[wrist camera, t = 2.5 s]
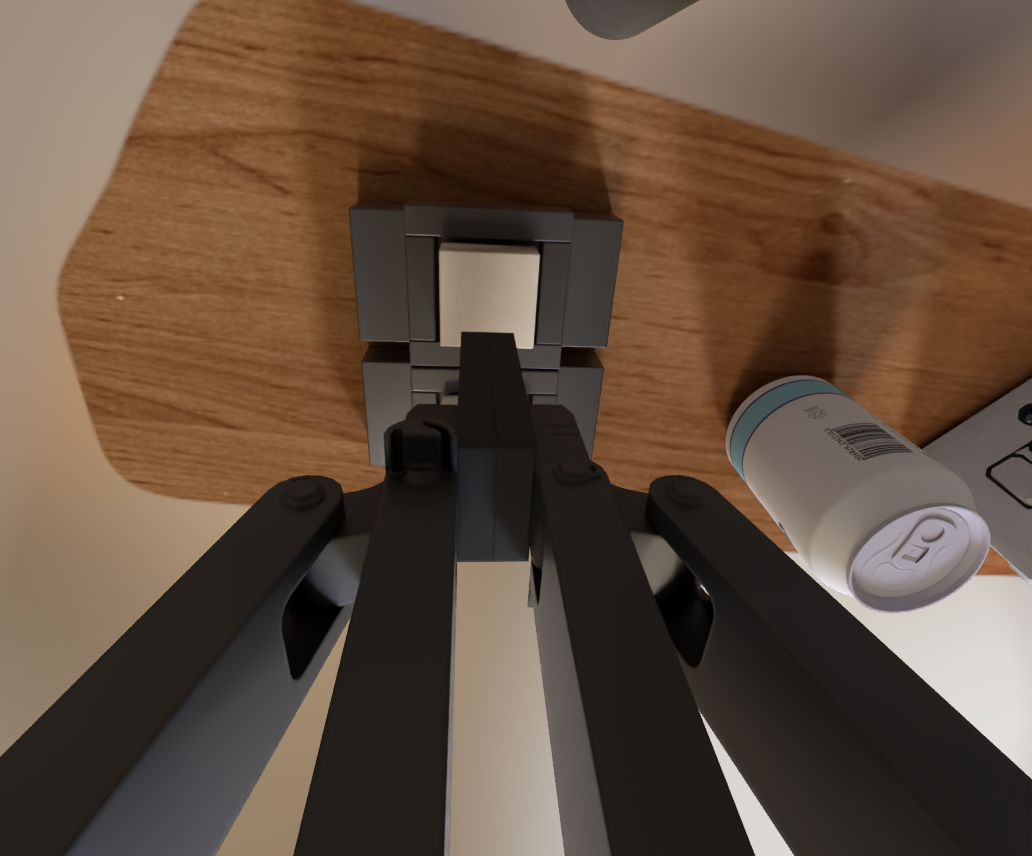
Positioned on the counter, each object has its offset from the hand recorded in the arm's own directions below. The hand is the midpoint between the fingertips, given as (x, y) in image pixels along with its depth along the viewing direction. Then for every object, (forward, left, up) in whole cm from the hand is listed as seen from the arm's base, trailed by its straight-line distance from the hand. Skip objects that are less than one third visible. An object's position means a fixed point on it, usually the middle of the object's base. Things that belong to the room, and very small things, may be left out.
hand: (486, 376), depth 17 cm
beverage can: (-17, +8, -13) cm, 23 cm away
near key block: (0, 0, -13) cm, 13 cm away
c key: (0, 0, -9) cm, 9 cm away
